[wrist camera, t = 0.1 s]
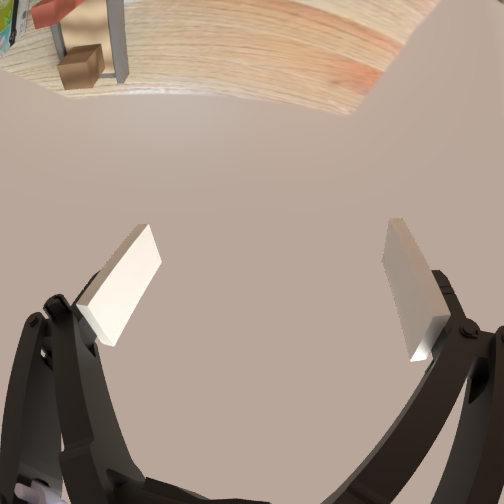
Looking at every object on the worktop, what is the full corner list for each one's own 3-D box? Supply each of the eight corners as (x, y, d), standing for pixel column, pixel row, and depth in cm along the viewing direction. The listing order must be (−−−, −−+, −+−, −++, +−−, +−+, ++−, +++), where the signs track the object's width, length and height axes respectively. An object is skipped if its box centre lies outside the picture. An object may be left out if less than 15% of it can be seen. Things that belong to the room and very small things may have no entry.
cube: (73, 47, 28) (57, 65, 27) (101, 43, 29) (85, 62, 28) (78, 70, 33) (64, 90, 32) (105, 68, 34) (92, 88, 33)
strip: (56, -27, 14) (13, 1, 11) (108, -40, 16) (68, -18, 12) (75, 72, 35) (50, 109, 31) (116, 69, 36) (94, 107, 33)
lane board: (53, -27, 14) (42, -20, 13) (123, -43, 16) (113, -39, 15) (74, 76, 37) (67, 86, 36) (129, 73, 39) (123, 83, 38)
